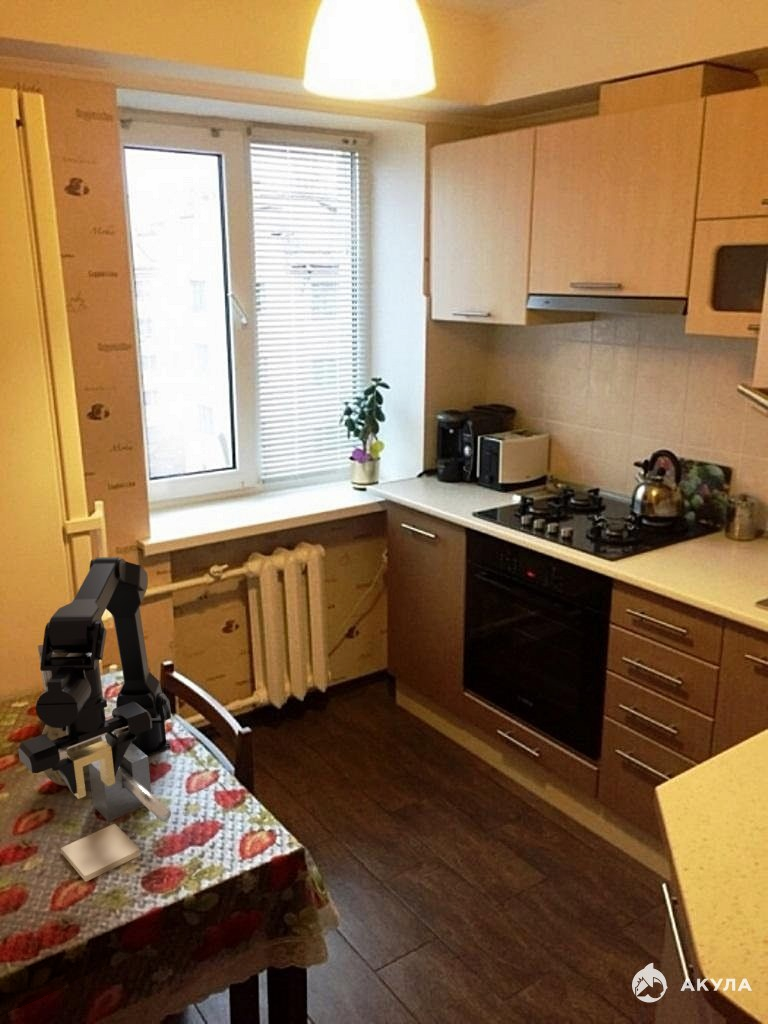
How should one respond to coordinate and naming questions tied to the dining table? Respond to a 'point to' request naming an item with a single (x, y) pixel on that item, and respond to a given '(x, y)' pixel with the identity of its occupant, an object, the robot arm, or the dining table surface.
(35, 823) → the dining table surface
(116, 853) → the birch pad
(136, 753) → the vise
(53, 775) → the decorative egg
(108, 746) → the tan u-shaped bracket
